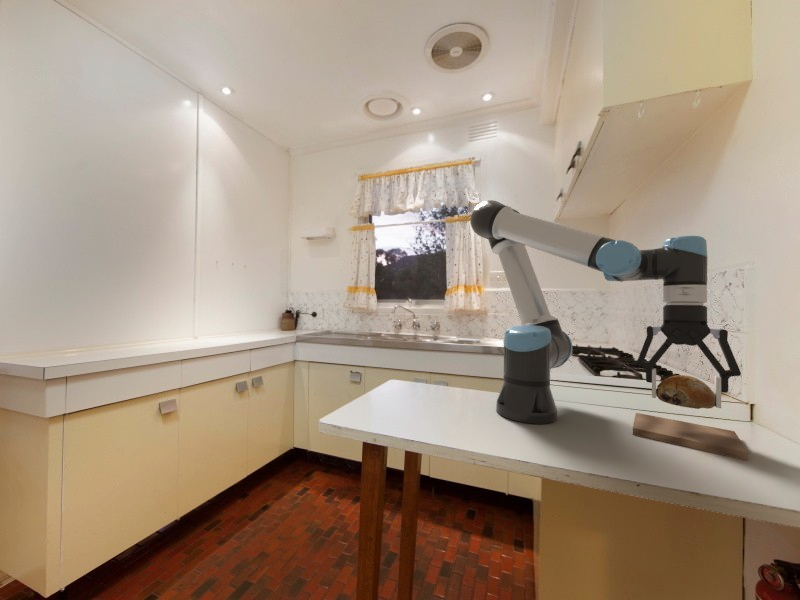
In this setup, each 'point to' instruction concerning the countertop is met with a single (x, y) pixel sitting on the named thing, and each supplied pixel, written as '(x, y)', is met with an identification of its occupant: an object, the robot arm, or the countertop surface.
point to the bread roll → (686, 392)
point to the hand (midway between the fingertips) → (684, 401)
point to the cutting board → (690, 435)
